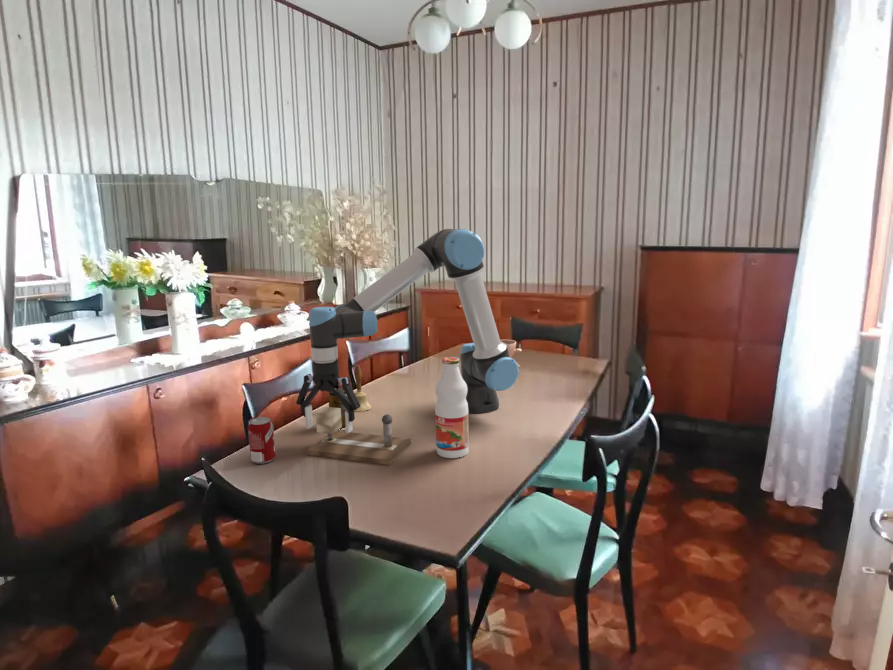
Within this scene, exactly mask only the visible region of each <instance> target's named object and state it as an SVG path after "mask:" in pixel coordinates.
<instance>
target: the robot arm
mask: <svg viewBox="0 0 893 670" xmlns="http://www.w3.org/2000/svg"><path fill="white" fill-rule="evenodd" d="M485 253H486V252H485V245H484V242H483V241H482V239H481V236H479V235H478V234H477V233H475V232H473V231H471V230H468V229H465V228H459V229H455V228H454V229H452V228H445V229H442V230H439V231H437V232H435V233H434V234H432V235H431V236H430V237H428V238H427V239H426V240H424V241H423V242H422V243H420V244H419V245H418V246H416V247H415V248H414V251H413V253H412V254H411V255H410V256H408V257H407V258H406V259H404V260H403V261H402V262H400V263H399V264H397V265H395V267H394V268H392V269H390V270H389V271H388V272H387V273H385V274H384V275H383V276H381V277H380V278H378V279H377V280H376V281H375V282H373V283H372V284H369V286H368V287H366V288H365V289H363V290H362V291H361V292H359V293H358V294H357V295H356V296H354V297H353V298H351V299H350V300H349V301H347V302H345V303H342V304H339V305H337V306H335V307H333V306H317V307H313V308H311V309H310V310H309V314H308V315H309V317H308V318H309V320H308V321H309V323H308V325H309V326H308V327H309V335H310V336H309V337H310V348H311V349H310V352H311V361H312V362H311V365H312V374H313V375H312V374H311V373H308V374H306V375H304V376H303V384H302V386H301V388H300V391H299V393H298V396H297V398H296V401H295V402H296V405H299V406H301V407H302V415H303V417H304V418H305V429H306V430H308V429H310V428H313V427H314V419H313V405H312V404H311V402H312V401H313V400H314V399H315V397H316V395H318V393H319V392H327V393H330V392H331V391H332V393H333V394H335V395H336V396H337V398H338V399H339V400H340V401H341V403H342V404H343V405H344V407H345V408H346V409H347V411H346V412H345V419H346V431H345V432H346V433H349V432H353V430H354V429H353V428H354V426H353V422H354V421H355V418H356V417H355V412H354V410H356V409H358V408H359V407H360V404H359V402H358V400H357V398H356V395H355V393H356V392H355V391H354V389H353V387H352V386H351V384H350V377H349V376H345V377H341V376H340V375H339V372H340V370H339V367H340V366H339V365H340V364H339V360H338V358H339V354H338V353H339V351H338V350H339V349H338V340H339V339H341V340H343V339H349V338H351V339H352V338H363V337H364V338H366V337H369V336H374V335H376V334H377V332H378V317H377V314H376V311H378V310H379V309H381V308H382V307H383V306H385V304H387V303H389V302H391V300H392V299H394V298H395V297H397V296H398V295H400V293H402V292H403V291H404V290H406V289H407V288H408V287H410V286H411V285H412V284H414V283H415V282H416V281H418V280H420V279H421V278H422V277H424V275H426V274H428V273H431V274H432V273H434V272H435V271H436V270H438V269H440V268H443V267H445V271H446V274H447V277H448V279H450V280H452V281H453V282H454V284H455V287H456V291H457V293H458V296H459V300H460V303H461V306H462V309H463V313H464V316H465V319H466V322H467V326H468V329H469V332H470V335H471V339H472V341H473V342H469V343H464V344H462V345H461V347H460V355H459V356H460V373H461V376H462V378H463V380H464V381H465V382H466V384H467V389H468V391H467V395H466V401H467V403H468V413H474V414H475V413H478V414H480V413H483V414H484V413H489V412H493V411H495V410H497V409H499V406H500V399H499V397H498V394H497V392H502V391H507V390H509V389H510V388H512V387H513V386H514V385H515V383H516V381H517V379H518V378H519V374H520V369H519V367H518V364H519V363H518V362H517V361H516V359H514V358H513V357H512V358H510V355H509V352H508V348H507V345H506V344H505V343H503V342H501V341H500V340H501V339H500V335H499V332H498V328H497V324H496V321H495V318H494V314H493V310H492V308H491V307H492V306H491V303H490V300H489V296H488V294H487V290H486V287H485V284H484V280H483V277H482V272H483V269H484V267H485V265H484V263H483V260H484V259H483V258H484V256H485ZM516 362H517V363H518V364H517V363H516ZM312 382H313V383H314V386H313V388H311V391H310V393H309V394H308V391H309V390H310V386H311V384H312ZM341 386H342V387H341ZM342 389H343V390H344V391H345V393H346V395H345V393H344V392H343V391H342Z"/></svg>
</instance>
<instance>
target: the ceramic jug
mask: <svg viewBox="0 0 893 670" xmlns="http://www.w3.org/2000/svg"><path fill="white" fill-rule="evenodd" d="M500 341H501V342H503V343H505V344H506V345H507V348H508V352H509V355H510V358H512V359H513V356H514V354H516V353H518V352H519V353H520V354H521V352H522V348H516V347H517V341H516V340H513V339H500ZM516 363H517V364H518V367H519V370H520V369H521V365H520V364H519V363H518V362H517V361H516Z"/></svg>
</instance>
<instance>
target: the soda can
mask: <svg viewBox="0 0 893 670" xmlns="http://www.w3.org/2000/svg"><path fill="white" fill-rule="evenodd" d="M247 433H248V442H249V444H248V446H249V454H250V455H249V456H250V462H252V463H253V464H254V463H255V464H258V465H265V464H270V463H271V462H273V461H274V460H275V459H276V458H277V457H276V455H277V454H276V446H275V445H276V443H275V429H274V424H273V423H272V421H271V418H270V417H266V416H260V417H259V416H258V417H254V418H252V419H250V420H249V425H248V427H247Z"/></svg>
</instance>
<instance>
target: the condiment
mask: <svg viewBox="0 0 893 670" xmlns="http://www.w3.org/2000/svg"><path fill="white" fill-rule="evenodd" d="M342 391H343V392H344V393H345V391H344V389H343V388H342ZM328 393H329V394H328V395H329V399H328V407H333V408H341V421H342V427H341V428H340V430H341V429H342V428H345V427H346V419H345V412H346V411H347V409H346V408H345V407H344V405H343V404H342V403H341V401H340V400H339V399H338V398H337V396H336V395H335V394H333V393H332V391H331V392H328ZM345 395H346V393H345ZM346 396H347V395H346ZM340 430H337V431H340ZM341 431H343V430H341ZM343 432H344V431H343Z"/></svg>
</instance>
